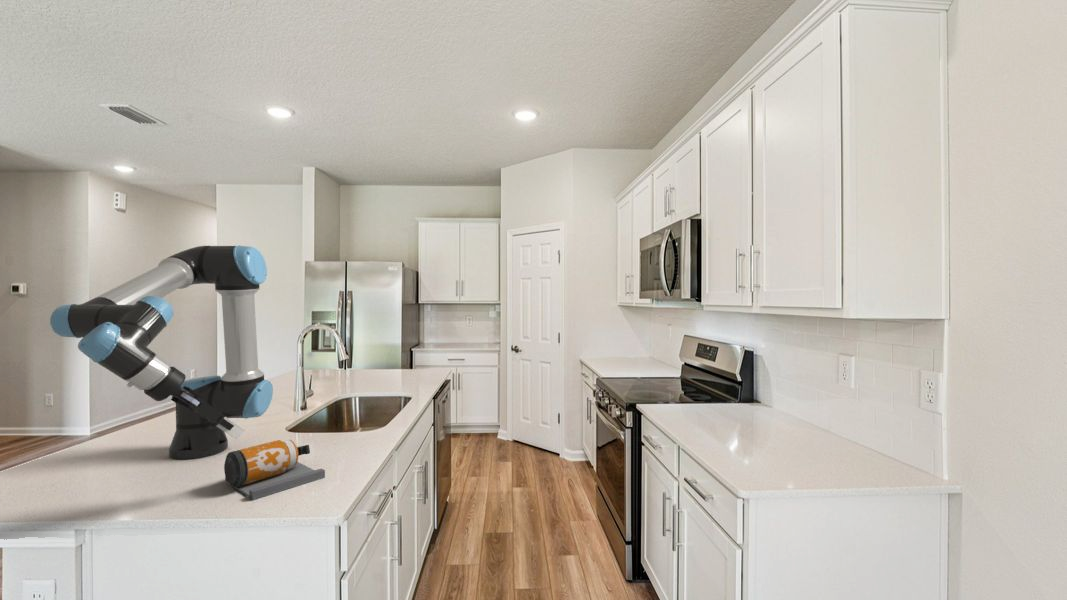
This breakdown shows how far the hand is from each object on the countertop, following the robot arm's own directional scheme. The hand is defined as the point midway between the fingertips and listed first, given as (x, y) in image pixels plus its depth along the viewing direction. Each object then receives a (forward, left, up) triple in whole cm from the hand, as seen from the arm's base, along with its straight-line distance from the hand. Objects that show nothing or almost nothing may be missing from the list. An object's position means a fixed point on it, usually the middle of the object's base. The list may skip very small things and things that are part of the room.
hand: (239, 434), depth 119 cm
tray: (0, +9, -14) cm, 17 cm away
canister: (-3, -2, -9) cm, 10 cm away
